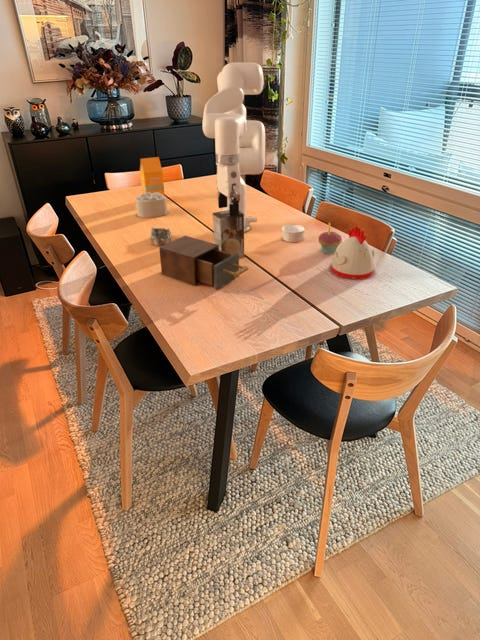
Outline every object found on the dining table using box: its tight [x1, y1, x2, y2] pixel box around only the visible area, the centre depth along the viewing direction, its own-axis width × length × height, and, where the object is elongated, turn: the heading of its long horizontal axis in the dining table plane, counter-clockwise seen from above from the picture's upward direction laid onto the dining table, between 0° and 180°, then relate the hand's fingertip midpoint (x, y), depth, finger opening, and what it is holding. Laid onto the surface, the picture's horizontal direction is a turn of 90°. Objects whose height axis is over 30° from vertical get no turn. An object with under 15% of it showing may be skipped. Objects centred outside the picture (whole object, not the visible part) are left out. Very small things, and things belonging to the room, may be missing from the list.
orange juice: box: [139, 156, 166, 197], centre depth 216 cm, size 8×9×20 cm
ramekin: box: [281, 224, 305, 243], centre depth 178 cm, size 9×9×4 cm
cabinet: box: [158, 235, 219, 286], centre depth 151 cm, size 15×13×10 cm
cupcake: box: [318, 221, 343, 255], centre depth 165 cm, size 9×8×12 cm
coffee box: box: [212, 210, 245, 259], centre depth 161 cm, size 9×6×16 cm
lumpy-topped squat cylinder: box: [135, 192, 169, 218], centre depth 203 cm, size 10×13×9 cm
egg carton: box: [150, 227, 172, 247], centre depth 177 cm, size 11×8×4 cm
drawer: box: [195, 249, 249, 290], centre depth 145 cm, size 19×11×8 cm, turn 54°
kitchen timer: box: [330, 226, 375, 280], centre depth 151 cm, size 14×14×15 cm
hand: (228, 211), depth 156 cm, fingers open, 9 cm apart
